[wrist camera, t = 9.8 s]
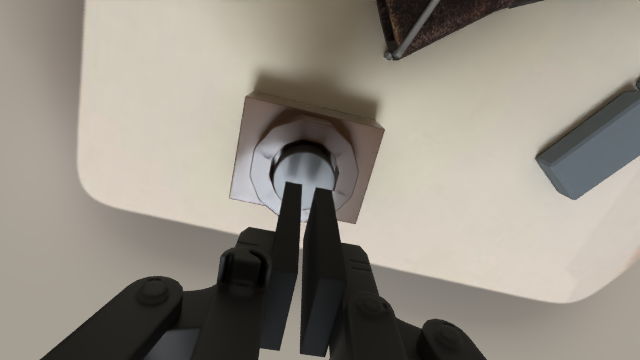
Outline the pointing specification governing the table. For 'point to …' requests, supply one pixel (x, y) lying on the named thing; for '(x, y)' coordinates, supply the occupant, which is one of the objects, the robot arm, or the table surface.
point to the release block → (303, 128)
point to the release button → (304, 171)
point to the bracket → (595, 147)
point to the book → (431, 20)
